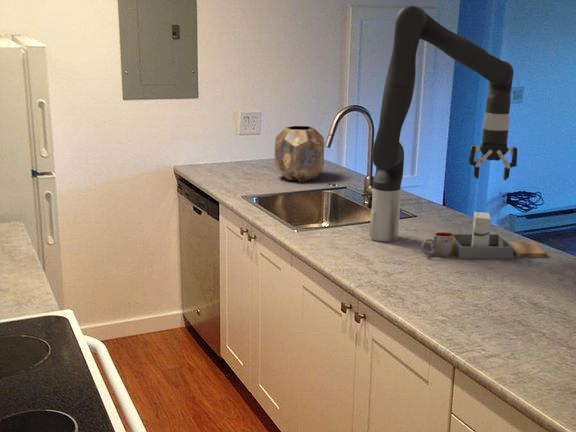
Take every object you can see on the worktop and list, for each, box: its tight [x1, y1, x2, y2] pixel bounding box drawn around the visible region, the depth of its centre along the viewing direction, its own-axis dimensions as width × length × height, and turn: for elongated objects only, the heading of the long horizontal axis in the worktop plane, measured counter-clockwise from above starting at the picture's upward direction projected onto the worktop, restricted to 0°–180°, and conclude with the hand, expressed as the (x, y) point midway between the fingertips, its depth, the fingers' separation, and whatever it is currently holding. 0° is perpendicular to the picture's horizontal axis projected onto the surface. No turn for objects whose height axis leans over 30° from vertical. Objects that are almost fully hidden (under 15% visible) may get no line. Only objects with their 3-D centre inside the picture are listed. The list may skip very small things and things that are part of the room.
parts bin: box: [452, 233, 514, 259], centre depth 222 cm, size 17×15×4 cm
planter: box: [274, 125, 325, 182], centre depth 322 cm, size 22×24×24 cm
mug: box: [420, 231, 455, 258], centre depth 217 cm, size 12×7×7 cm, turn 114°
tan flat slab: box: [508, 241, 547, 258], centre depth 222 cm, size 9×12×1 cm
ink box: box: [470, 211, 492, 247], centre depth 220 cm, size 9×5×12 cm, turn 168°
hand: (490, 179), depth 219 cm, fingers open, 8 cm apart
